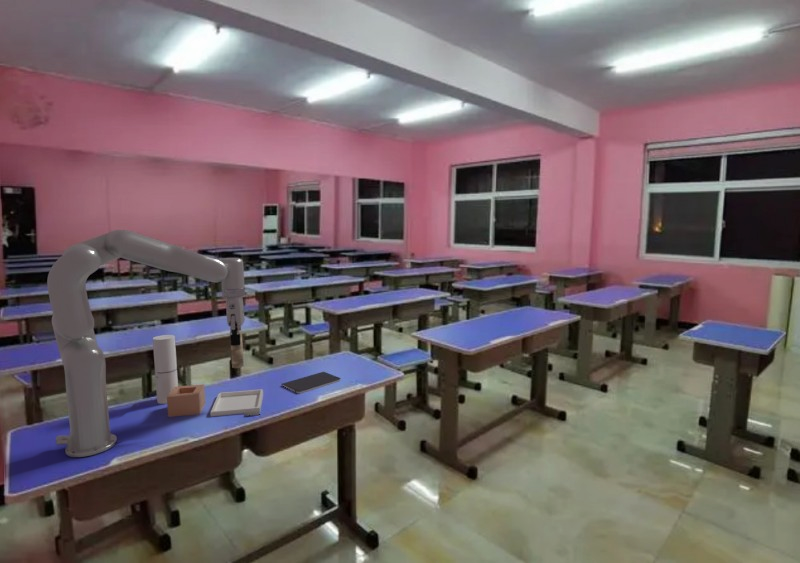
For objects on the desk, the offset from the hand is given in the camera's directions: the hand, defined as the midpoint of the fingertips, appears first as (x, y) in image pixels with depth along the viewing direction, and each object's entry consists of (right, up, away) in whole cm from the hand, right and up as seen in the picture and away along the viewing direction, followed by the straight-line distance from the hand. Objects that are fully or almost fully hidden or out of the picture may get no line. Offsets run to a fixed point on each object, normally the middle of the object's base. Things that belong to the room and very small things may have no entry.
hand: (236, 342), depth 157 cm
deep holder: (-17, -24, -2) cm, 29 cm away
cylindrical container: (-28, -23, +6) cm, 37 cm away
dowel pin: (0, -9, +1) cm, 9 cm away
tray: (0, -24, +3) cm, 24 cm away
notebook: (+22, -22, +27) cm, 41 cm away
